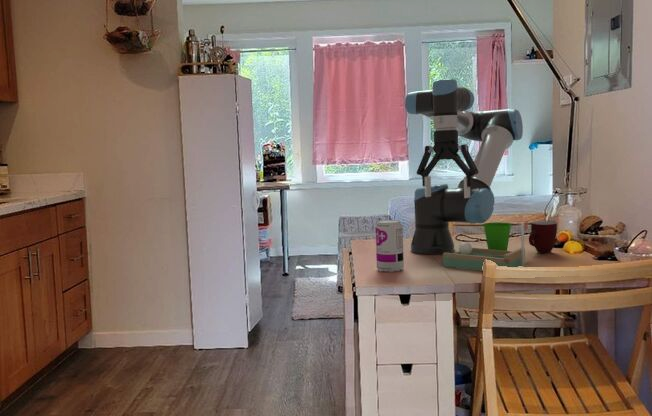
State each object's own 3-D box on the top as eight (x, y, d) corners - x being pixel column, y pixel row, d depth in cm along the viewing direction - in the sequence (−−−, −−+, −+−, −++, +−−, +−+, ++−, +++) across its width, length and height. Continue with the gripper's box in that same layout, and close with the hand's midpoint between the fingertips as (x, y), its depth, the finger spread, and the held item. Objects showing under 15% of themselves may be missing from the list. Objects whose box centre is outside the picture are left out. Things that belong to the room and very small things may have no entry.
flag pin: (518, 270, 173) (518, 222, 172) (524, 267, 177) (523, 221, 175) (525, 270, 172) (524, 223, 171) (530, 268, 175) (530, 221, 174)
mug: (542, 256, 191) (542, 226, 189) (521, 253, 197) (521, 224, 196) (561, 252, 197) (561, 222, 196) (540, 249, 203) (540, 220, 202)
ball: (456, 255, 184) (456, 242, 184) (462, 253, 187) (462, 240, 187) (468, 256, 181) (468, 243, 181) (474, 254, 184) (474, 241, 184)
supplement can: (385, 273, 176) (383, 224, 175) (372, 268, 184) (370, 221, 182) (408, 270, 180) (407, 221, 178) (395, 265, 187) (393, 218, 185)
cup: (497, 261, 186) (496, 227, 185) (477, 257, 194) (476, 224, 193) (518, 258, 190) (518, 224, 189) (498, 254, 198) (497, 221, 197)
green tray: (443, 266, 183) (442, 249, 183) (462, 259, 192) (461, 243, 191) (507, 273, 169) (507, 255, 169) (525, 266, 178) (524, 248, 178)
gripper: (404, 131, 190) (406, 197, 192) (478, 127, 174) (479, 199, 177) (416, 131, 196) (418, 195, 198) (488, 127, 180) (489, 196, 182)
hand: (447, 197), depth 187 cm, fingers open, 13 cm apart
